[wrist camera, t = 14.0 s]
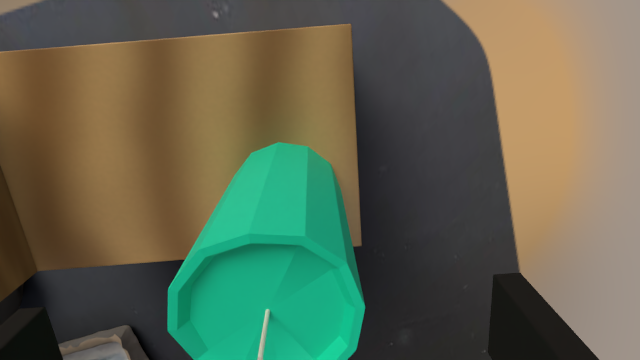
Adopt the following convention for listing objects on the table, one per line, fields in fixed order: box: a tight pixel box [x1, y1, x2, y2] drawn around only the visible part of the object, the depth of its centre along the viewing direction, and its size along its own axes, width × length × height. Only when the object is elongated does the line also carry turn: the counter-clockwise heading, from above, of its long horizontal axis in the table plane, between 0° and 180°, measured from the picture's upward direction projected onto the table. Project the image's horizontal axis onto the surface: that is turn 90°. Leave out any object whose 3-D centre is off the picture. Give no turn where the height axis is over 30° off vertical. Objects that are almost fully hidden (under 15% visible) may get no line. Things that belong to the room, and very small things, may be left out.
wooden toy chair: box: [0, 24, 362, 302], centre depth 21 cm, size 20×12×22 cm, turn 94°
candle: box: [168, 142, 365, 360], centre depth 16 cm, size 6×6×12 cm
